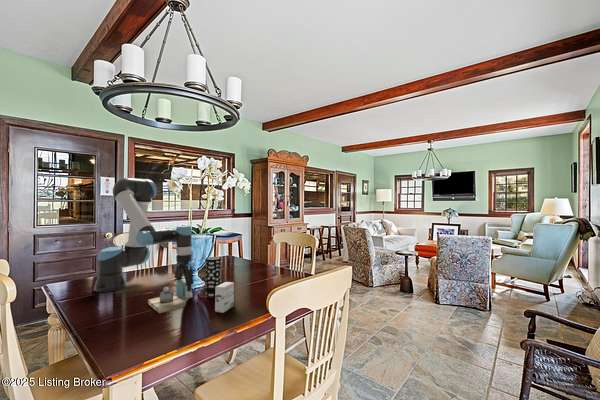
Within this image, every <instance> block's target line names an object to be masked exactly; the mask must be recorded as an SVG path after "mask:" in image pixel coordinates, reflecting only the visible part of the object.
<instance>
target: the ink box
mask: <svg viewBox="0 0 600 400" xmlns="http://www.w3.org/2000/svg"><path fill="white" fill-rule="evenodd" d="M234 297H235V283H234V282H231V281H225V282H223V283H222V282H221V284H220V285H218V286H216V287H215V298H214V299H215V300H214V301H215V302H214V311H215V312H216V313H221V314H224V313H225V312H227V311H228V310H230V309H232V308H234V306H235V298H234Z"/></svg>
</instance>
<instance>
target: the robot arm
mask: <svg viewBox="0 0 600 400" xmlns="http://www.w3.org/2000/svg"><path fill="white" fill-rule="evenodd" d="M157 192H158V189H157V186H156V184H155V182H154V181H152V180H151V179H147V178H134V177H133V178H132V177H131V178H130V177H125V178H120V179H119V180H117V181H116V182H115V184H114V185H113V187H112V195H113V198H114V200H115V202H117V203H119V204H120V206H121V208H122V210H123V211H124V212H125V214H126V216H127V217H128V219H129V226H128V227H129V228H128V238H127V242H125V243H124V247H123V246H118V245H117V246H110V247H106V248H105V247H104V249H101V250H99V252H98V255H97V262H98V265H97V267H98V268H97V273H98V275H97V279H96V281H95V284H94V287H93V291H94V292H95V291H96V292H95V293H110V292H109V291H111V292H115V291H116V292H117V291H120V290H122V289H125V288H126V287H127V283H126V278H125V277H124V273H123V269H124V268H128V267H134V266H139V265H143V264H145V263H146V262H148V260H149V258H150V255H151V252H150V248H149V247H150V246H153V245H159V244H167V243H175V244H176V249H175V251H176V257H175V258H176V260H175V261H176V268H175V275H174V279H176V282H177V281H180V280H183V277H184V280H185V281H186V285H185V286H186V293H185V297H184V298H185V299H188V298H191V297H192V294H191V285H194V279H193V278H194V276H193V271H192V264H189V262H191V261H192V246H193V245H192V235H193V234H192V233H193V232H192V227H191V225H177V226H176V228H172V227H166V228H163V229H155V228H154V226H153V225H152V223H151V221H150V220H149V218H148V217H147V216H148V209H149V204H150V203H152V199H155V197H156V196H157Z"/></svg>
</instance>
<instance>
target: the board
mask: <svg viewBox="0 0 600 400" xmlns="http://www.w3.org/2000/svg"><path fill="white" fill-rule="evenodd" d="M147 304H148V305H149V306H150V307H151V308H152V309H153V310H154V311H156V312H157V313H158V314H162V313H165V312H169V311H174V310H177V309H180V308H184V307H186V301H185V300H183V299H182V298H181V297H177V296H176V294H174V293H173V301H172V302H169V303H160V296H159V297H154V298H151V299H148V300H147Z"/></svg>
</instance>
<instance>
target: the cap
mask: <svg viewBox="0 0 600 400" xmlns="http://www.w3.org/2000/svg"><path fill="white" fill-rule="evenodd" d="M185 285H186V281H185V279H182V280H181V279H180V281H177V280H176V282H175V296H177V297H178V298H185V293H186V286H185ZM192 285H193V284H192ZM192 285H191V295H192V291H193V290H192V289H193V287H192Z"/></svg>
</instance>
